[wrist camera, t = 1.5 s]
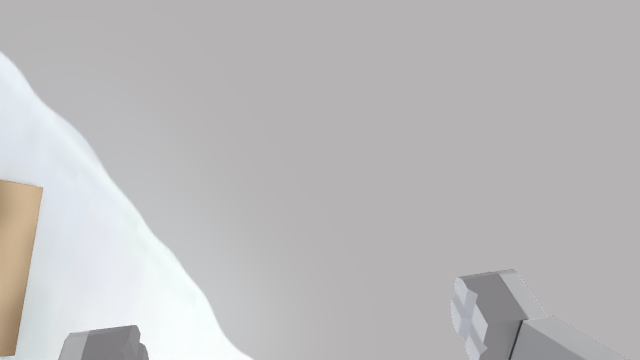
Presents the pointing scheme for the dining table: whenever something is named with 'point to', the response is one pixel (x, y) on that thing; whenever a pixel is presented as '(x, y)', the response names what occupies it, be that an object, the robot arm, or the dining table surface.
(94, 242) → the dining table surface
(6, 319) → the oak board
